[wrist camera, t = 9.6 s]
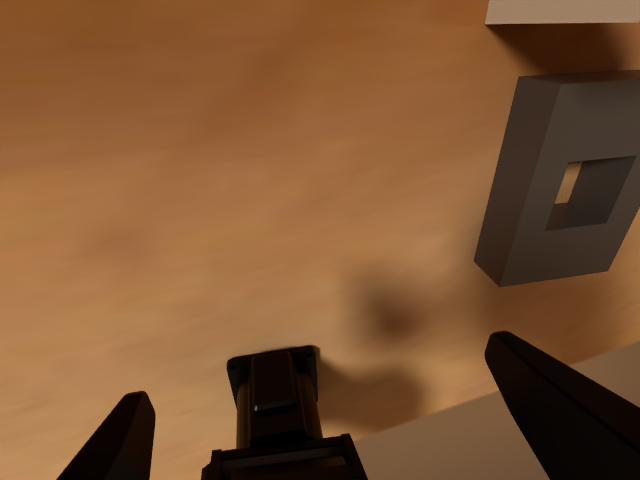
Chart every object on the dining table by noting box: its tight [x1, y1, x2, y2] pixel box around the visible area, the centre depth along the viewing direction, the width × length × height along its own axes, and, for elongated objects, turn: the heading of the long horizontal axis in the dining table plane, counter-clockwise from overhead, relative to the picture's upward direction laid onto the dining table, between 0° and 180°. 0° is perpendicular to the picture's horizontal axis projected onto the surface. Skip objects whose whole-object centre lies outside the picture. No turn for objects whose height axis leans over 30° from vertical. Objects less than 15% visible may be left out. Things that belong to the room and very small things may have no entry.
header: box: [474, 70, 640, 287], centre depth 21 cm, size 12×8×3 cm, turn 2°
